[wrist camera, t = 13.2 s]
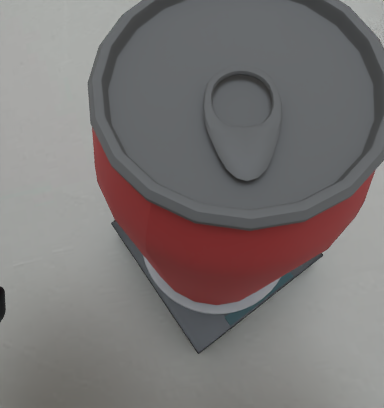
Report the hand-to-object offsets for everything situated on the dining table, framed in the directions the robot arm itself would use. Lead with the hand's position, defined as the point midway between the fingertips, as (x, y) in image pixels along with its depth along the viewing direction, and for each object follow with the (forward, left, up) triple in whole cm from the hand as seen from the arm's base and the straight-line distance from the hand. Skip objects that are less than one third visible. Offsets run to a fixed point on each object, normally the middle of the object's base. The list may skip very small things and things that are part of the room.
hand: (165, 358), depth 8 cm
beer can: (+5, -2, -8) cm, 10 cm away
